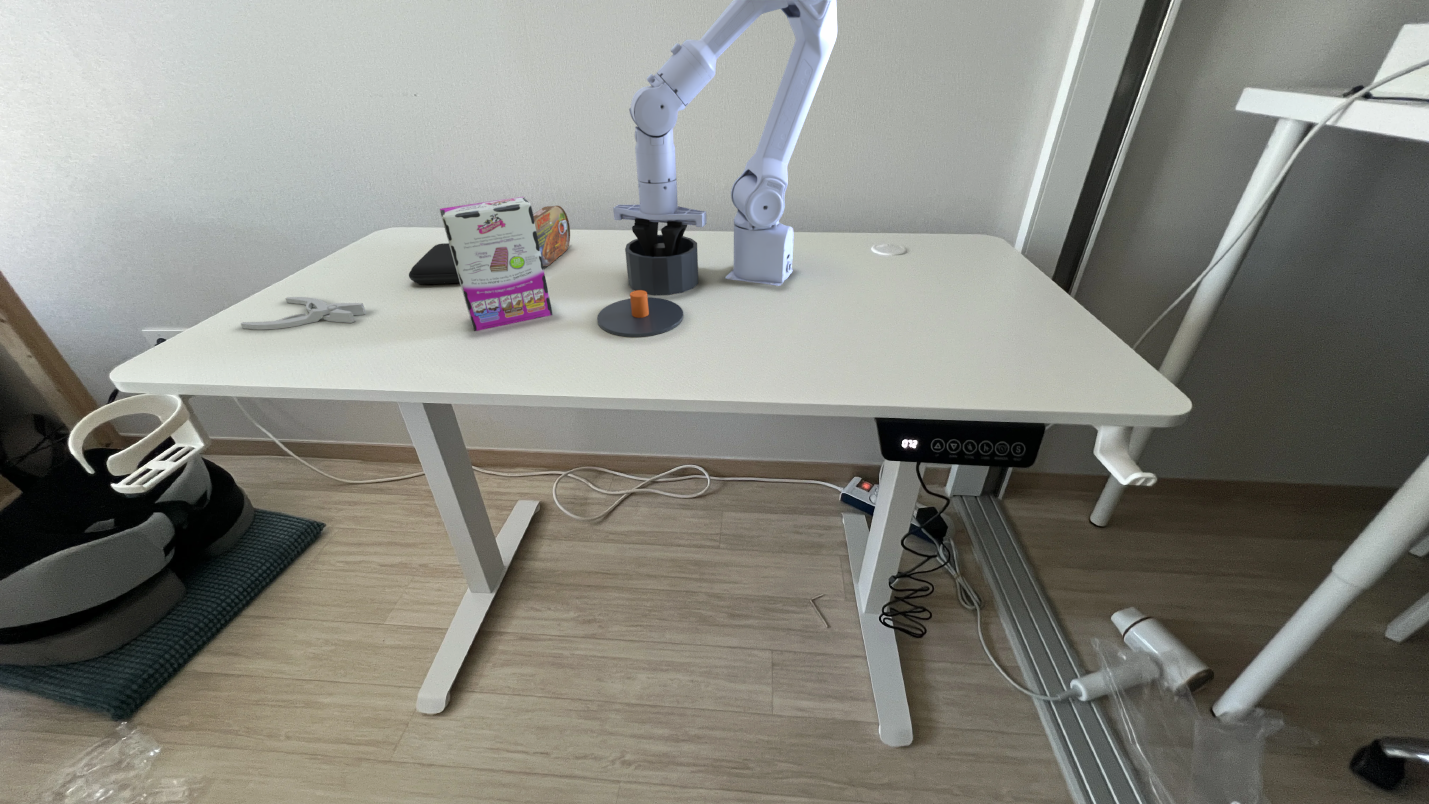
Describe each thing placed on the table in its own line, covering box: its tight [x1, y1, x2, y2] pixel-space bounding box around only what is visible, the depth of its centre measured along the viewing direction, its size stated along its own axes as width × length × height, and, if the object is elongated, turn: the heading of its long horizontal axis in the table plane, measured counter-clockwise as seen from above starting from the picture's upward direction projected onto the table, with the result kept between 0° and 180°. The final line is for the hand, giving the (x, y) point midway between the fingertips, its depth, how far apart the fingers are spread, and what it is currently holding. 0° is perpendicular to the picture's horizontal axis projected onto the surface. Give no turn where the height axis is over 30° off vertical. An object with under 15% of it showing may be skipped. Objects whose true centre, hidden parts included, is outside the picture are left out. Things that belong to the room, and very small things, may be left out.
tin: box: [533, 205, 571, 267], centre depth 104 cm, size 15×3×8 cm, turn 168°
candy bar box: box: [439, 196, 554, 332], centre depth 81 cm, size 11×5×16 cm, turn 117°
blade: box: [653, 243, 666, 257], centre depth 93 cm, size 5×5×6 cm
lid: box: [596, 290, 684, 338], centre depth 83 cm, size 12×12×4 cm
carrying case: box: [408, 242, 460, 285], centre depth 101 cm, size 11×3×15 cm
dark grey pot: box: [624, 234, 699, 296], centre depth 94 cm, size 11×11×6 cm
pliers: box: [240, 296, 367, 331], centre depth 87 cm, size 10×2×15 cm
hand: (662, 267), depth 94 cm, fingers closed on blade, 2 cm apart
